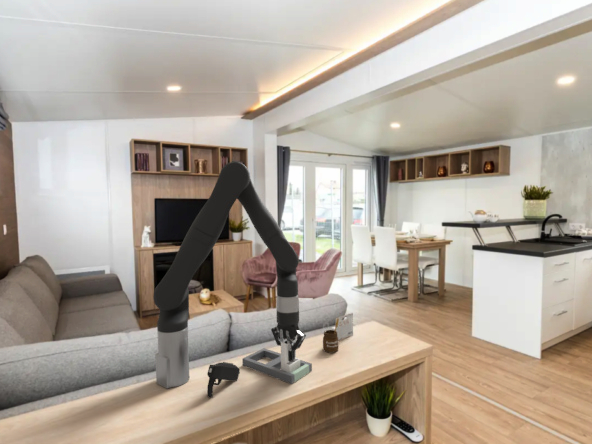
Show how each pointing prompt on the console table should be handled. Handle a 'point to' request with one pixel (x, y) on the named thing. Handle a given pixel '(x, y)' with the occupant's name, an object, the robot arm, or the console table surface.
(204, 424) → the console table surface
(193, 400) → the console table surface
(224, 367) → the gun
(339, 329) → the ink cartridge box
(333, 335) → the utensil holder
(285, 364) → the white wedge bracket
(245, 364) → the port panel
